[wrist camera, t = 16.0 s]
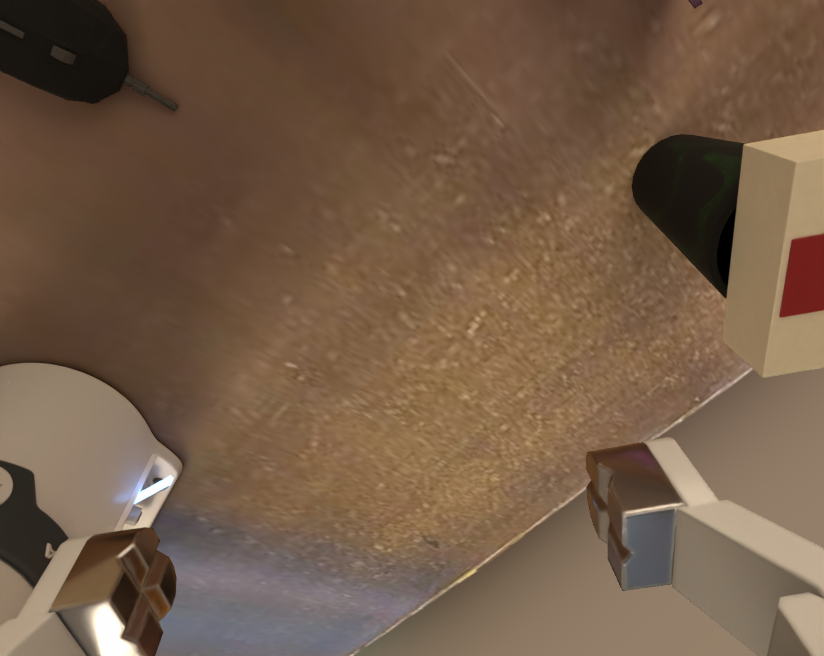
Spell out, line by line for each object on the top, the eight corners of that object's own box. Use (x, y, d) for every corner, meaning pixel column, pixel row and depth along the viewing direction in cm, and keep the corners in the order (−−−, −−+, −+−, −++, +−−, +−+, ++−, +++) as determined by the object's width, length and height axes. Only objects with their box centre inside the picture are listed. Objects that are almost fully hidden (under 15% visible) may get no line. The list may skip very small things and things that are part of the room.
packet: (829, 321, 30) (886, 358, 26) (721, 340, 30) (764, 379, 27) (872, 121, 25) (946, 136, 22) (742, 143, 25) (798, 162, 22)
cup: (702, 242, 40) (819, 321, 30) (599, 224, 39) (684, 299, 29) (752, 129, 37) (906, 173, 26) (642, 105, 36) (755, 142, 25)
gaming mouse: (156, 153, 35) (132, 168, 32) (-113, -4, 31) (-175, -7, 27) (200, 59, 33) (180, 64, 29) (-83, -126, 28) (-147, -147, 25)
